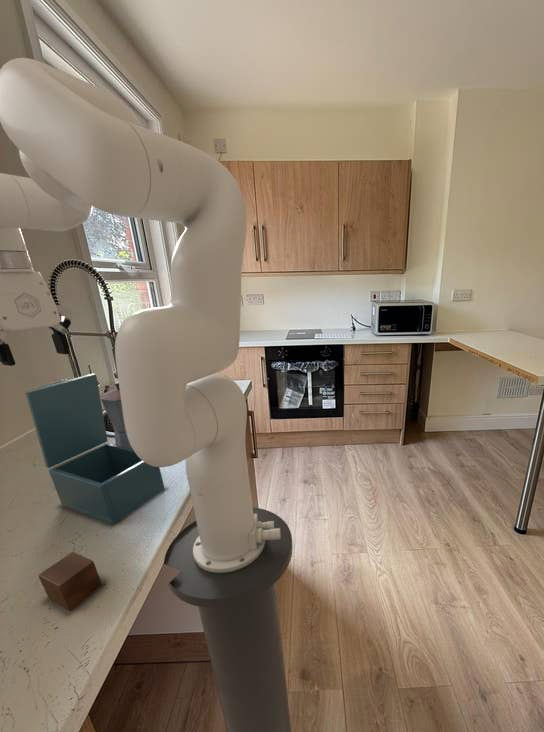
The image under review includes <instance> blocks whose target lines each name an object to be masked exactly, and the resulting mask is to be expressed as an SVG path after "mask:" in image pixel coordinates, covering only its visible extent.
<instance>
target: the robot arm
mask: <svg viewBox="0 0 544 732" xmlns="http://www.w3.org/2000/svg"><path fill="white" fill-rule="evenodd" d="M0 124H1V127H2V130H4V132H5V134H6V135H7V137H8V138H9V140H10V141H11V142H12V144H14V146H15V147H16V148H17V149H18V154H19V158H20V161H21V162H20V163H21V164H22V166H23V168H24V170H25V172H26V173H27V175H28V177H26V176H21V175H20V176H19V175H15V174H14V175H13V174H9V173H3V172H0V363H1V364H2V365H3V366H8V367H13V366H15V365H16V361H15V359H14V356H13V353H12V349H11V347H10V345H9V343H6V342H5V340H6V338H7V336H8V334H9V333H10V332H22V331H30V330H36V329H37V330H38V329H44V328H47V329H49V331H51V332H53V333H52V334H51V339H52V343H53V345H54V348H55V351H56V353H57V354H58V355H59V354H60V355H70V345H69V342H68V339H67V336H66V335H67V334H68V329H69V328H70V325H71V324H72V316H73V311H72V309H70V308H66V307H64V306H61V305H59V304H56V303H55V300H54V298H53V295H52V293H51V291H50V288H49V287H48V284H47V282H46V281H45V279H44V277H43V276H42V274H41V272H40V271H35V270H34V267H33V263H32V261H31V260H32V259H31V257H30V254H29V251H28V249H27V248H28V247H27V245H26V242H25V239H24V236H23V234H22V231H21V230H22V229H23V230H35V231H46V232H65V231H68V230H72V229H74V228H76V227H77V226H80V225H81V224H84V223H85V222H87V221H88V220H89V219H90V217H91V215H92V213H93V208H95V209H97V210H99V211H102V212H104V213H106V214H110V215H114V216H117V217H123V218H133V219H140V220H147V221H148V220H149V221H156V222H164V223H165V222H166V223H175V224H179V225H182V226H183V227H184V231H183V233H182V234H181V235H180V236H179V239H178V241H177V242H176V245H175V248H174V251H173V254H172V258H171V261H170V262H171V263H170V279H171V299H170V303H169V304H168V305H166V306H159V307H150V308H144V309H141V310H138V311H135V312H133V313H131V314H130V315H128V316H127V317H126V318H125V319H124V320H123V321H122V322H121V324H120V326H119V328H118V331H117V334H116V336H115V342H114V357H115V366H116V372H117V380H118V383H119V388H120V396H121V403H122V411H123V418H124V424H125V429H126V433H127V437H128V440H129V442H130V445H131V447H132V449H133V450H134V452H135V453H136V455H137V456H138V457H139V458H140V459H141V460H142V461H144V462H145V463H147V464H149V465H151V466H154V467H159V468H169V467H172V466H174V465H177V464H179V463H181V462H183V461H185V470H186V477H187V482H188V487H189V492H190V497H191V501H192V507H193V511H194V516H195V521H197V526H198V531H199V537H198V538H197V539H196V541H195V543H194V546H193V556H194V560H195V561H196V563H197V564H198V566H199V567H201V568H202V569H204V570H206V571H209V572H214V573H226V572H232V571H235V570H238V569H241V568H243V567H245V566H247V565H248V564H250V563H252V562H253V561H254V560H255V559H256V558H257V557H258V556H259V555H260V554H261V552H262V550H263V548H264V545H265V540H280V539H281V533H280V528H276V529H274V521H270V522H262V523H261V521H258V517H257V514H253V507H254V506H253V499H252V493H251V484H250V476H249V465H248V457H247V448H246V434H247V433H246V432H247V431H246V430H247V421H248V420H247V419H248V407H247V401H246V397H245V393H244V392H243V390H242V388H241V387H240V386H239V385H238V384H237V382H235V381H234V380H233V379H231V378H229V377H228V376H225V375H220V374H217V373H219V372H222V371H224V370H226V369H227V368H229V367H230V366H232V365H233V364H234V363H235V361H236V360H237V357H238V354H239V350H240V340H241V339H240V337H241V336H240V334H241V313H242V312H241V309H242V272H243V261H244V252H245V245H246V237H247V221H248V219H247V208H246V204H245V198H244V196H243V193H242V190H241V188H240V185H239V184H238V181H237V180H236V178H235V177H234V176H233V174H232V173H231V172H230V171H229V169H228V168H227V167H226V166H225V165H224V164H223V163H221V162H220V161H219V160H218V159H216V158H215V157H214V156H212V155H210V154H209V153H207V152H205V151H203V150H201V149H200V148H197V147H195V146H193V145H191V144H189V143H186V142H184V141H182V140H178V139H176V138H173V137H171V136H169V135H165V134H162V133H159V132H156V131H154V130H151V129H148V128H145V127H143V125H142V124H141V122H140V120H139V118H138V117H137V115H136V114H135V113H134V112H133V110H132V109H131V108H130V107H129V106H128V105H127V104H125V102H124V101H122V100H121V99H120V98H118V97H117V96H116V95H115V94H112V93H111V92H109V91H108V90H106V89H104V88H101V87H100V86H97V85H95V84H92V83H90V82H87V81H86V80H83V79H81V78H79V77H76V76H74V75H72V74H70V73H67V72H65V71H62V70H60V69H58V68H56V67H53V66H51V65H49V64H47V63H44V62H42V61H39V60H37V59H32V58H29V57H17V58H13V59H11V60H8V61H7V62H6V63H4V64H3V65H2V66H1V67H0ZM60 315H61V316H60ZM263 529H270V530H263Z"/></svg>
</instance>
